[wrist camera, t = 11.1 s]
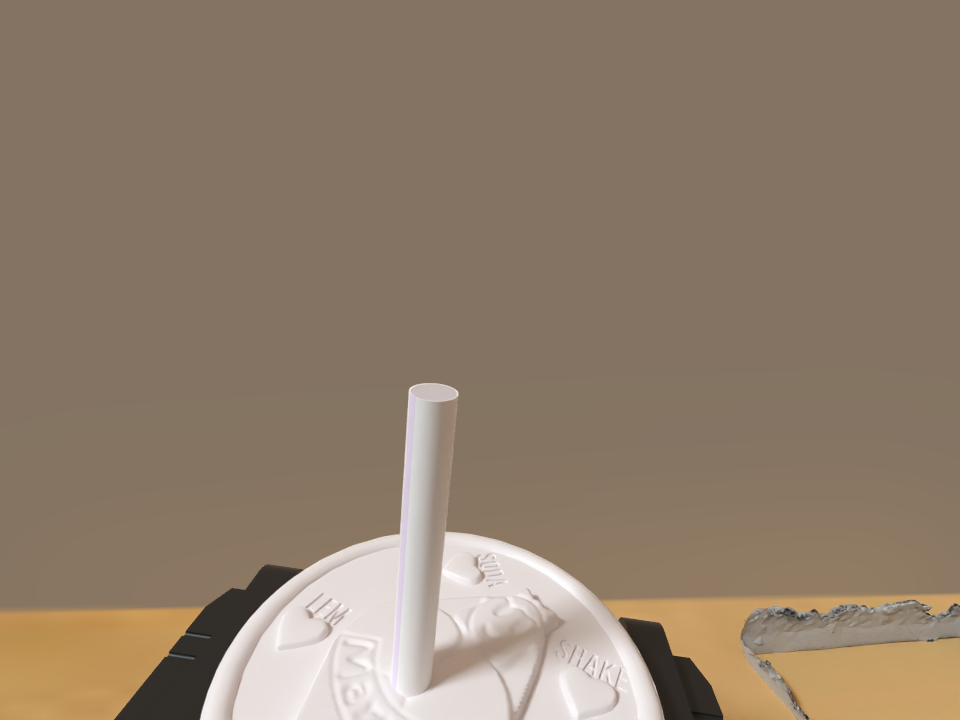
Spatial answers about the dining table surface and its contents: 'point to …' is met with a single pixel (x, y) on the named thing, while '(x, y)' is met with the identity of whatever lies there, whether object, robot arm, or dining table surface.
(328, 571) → the smoothie
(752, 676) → the dining table surface
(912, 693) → the dining table surface
